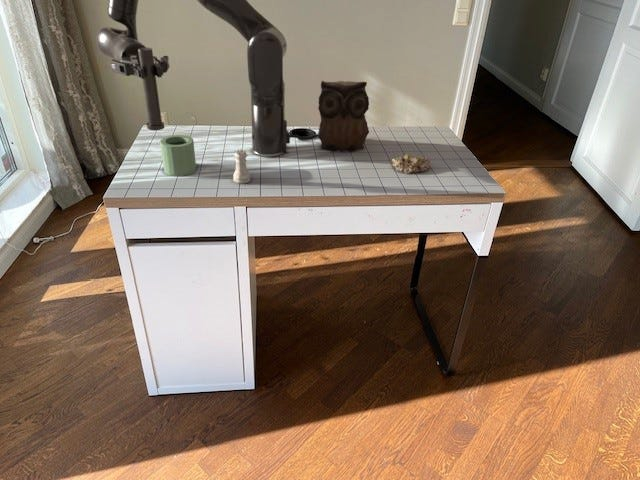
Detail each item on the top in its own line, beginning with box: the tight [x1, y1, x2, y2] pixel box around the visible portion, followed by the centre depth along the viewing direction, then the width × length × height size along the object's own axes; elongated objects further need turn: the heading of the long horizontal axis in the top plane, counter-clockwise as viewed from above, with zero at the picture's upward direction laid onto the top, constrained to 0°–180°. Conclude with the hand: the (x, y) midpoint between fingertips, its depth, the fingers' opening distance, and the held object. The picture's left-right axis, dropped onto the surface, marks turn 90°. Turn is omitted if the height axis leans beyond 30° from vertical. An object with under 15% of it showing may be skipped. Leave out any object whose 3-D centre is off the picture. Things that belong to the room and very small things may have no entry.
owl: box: [317, 80, 370, 153], centre depth 143 cm, size 13×13×20 cm
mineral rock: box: [391, 153, 431, 174], centre depth 137 cm, size 11×4×8 cm
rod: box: [138, 46, 166, 131], centre depth 112 cm, size 4×4×18 cm
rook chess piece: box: [232, 149, 251, 185], centre depth 124 cm, size 4×4×8 cm
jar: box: [159, 134, 197, 177], centre depth 128 cm, size 8×8×8 cm
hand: (151, 73), depth 108 cm, fingers closed on rod, 3 cm apart
